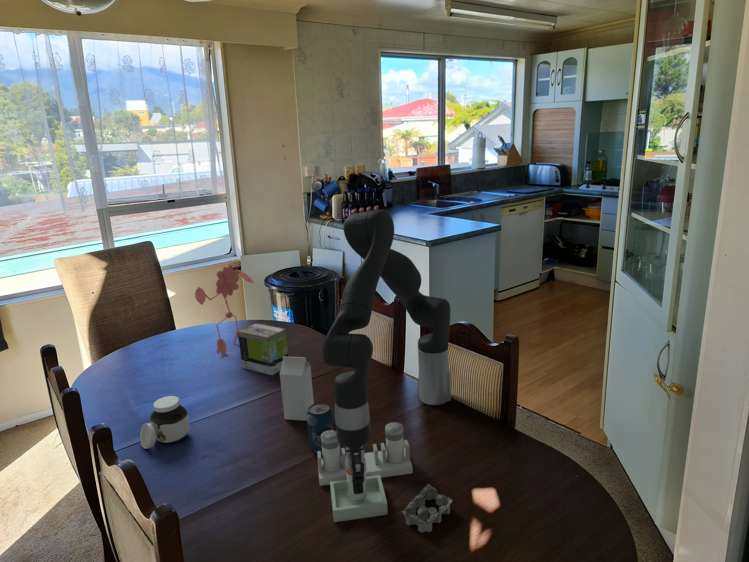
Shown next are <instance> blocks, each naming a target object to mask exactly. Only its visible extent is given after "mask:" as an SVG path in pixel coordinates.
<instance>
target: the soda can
mask: <svg viewBox="0 0 749 562" xmlns="http://www.w3.org/2000/svg"><path fill="white" fill-rule="evenodd" d="M306 423H307V424H306V425H307V433H308V445H309V447H310V449H311V450H312V451H313V453H316V454H317V451H321V455H322V446H321V434H322V433H323V432H325V431H328V430H334V431H335V425H334V415H333V410H332V409H331V407H330V405H329V404H328V403H325V402H317V403H314V404H313V405H311V406H310V407H309V409H308V413H307V421H306Z"/></svg>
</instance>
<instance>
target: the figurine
mask: <svg viewBox="0 0 749 562" xmlns="http://www.w3.org/2000/svg"><path fill="white" fill-rule="evenodd" d="M216 277H217V278H218V279H217V281H216V282H215V285H216V294H215V295H214V296H212V297H209V295H207V294H206V291H205V290H204V289H203V288H202V287H200V286H198V287H197V289H195V293H194V298H195V299H196V302H198V303H199V304H200V305H201V306H203V305H204V303H205V301H206V300H207V299H208V300H209V301H212V300H213V299H214V298H217V297H218V296H219V295H220V294H221V296H222V297H223V299H224V301H225V304H226V307H227V308H226V309H227V310H228V311H226V312H225V314H224V315H225V318H223V319H222V320H221V321H219V322H218V323H217V324H216V330H217V332H218V333H217V334H218V337H219V338H218V339H217V340H216V347H217V349H216V352H217V353H218V352H220V353H221V355H222V356H225V355H226V353H227V350H228V349H227V344H226V342H225V340H224V339H223V338H221V335H220V331H219V324H221V323H222V322H223V321H224V320H226V319H231V318H232V317H234V320H235V326H236V331H235V338H234V340H233V341H234V342H233V344H236V341H237V339H239V337H238V331H239V327H238V321H237V316H236V315H235V314H233V312H232V311H230V307H229V303H228V300H227V297H228V296H233V295H234V294H233V293H234V291H237V290H239V284H238V282H239V280H240V277H242V279H244V280H245V281H247V282H249V283H252V284H254V280H253V279H252V278H251V277H250V276H249V275H248V274H247V273H245V272H244V271H239V269H237V268H236V269H234V267H233V265H232V264H231V263H230V264H229V265H228V266H223V268H222V270H219V271H217V272H216ZM206 298H207V299H206ZM220 353H219V354H220ZM239 358H240V359H241V356H240V357H239Z"/></svg>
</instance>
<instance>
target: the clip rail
mask: <svg viewBox="0 0 749 562" xmlns="http://www.w3.org/2000/svg"><path fill="white" fill-rule="evenodd" d="M403 440H404V461H403V462H402V463H399V464H391V463H389V462H388V461H387V452H386V444H385V443H384V442H380V450H378V447H377V443H372V448H373V449H372V452H371V451H370V452H364V453H365V455H364V457H365V462H366V477H369V476H377V475H380V476H381V479H382V478H388V477H394V476H395V477H396V476H404V475H410V474H413V470H414V469H413V463H412V462H411V454H410V453H411V451H410V443H409V442H408V439H403ZM340 452H341V455H340V456H341V469H340V470H339V471H337V472H333V473H330V472H326V471H325V470H324V468H323V458H322V454H321V451H317V453H316V455H317V467H318V469H317V470H318V480H319V481H318V482H319V486H321V487H323V486H328V485H329V486H330V482H332V481H340V480H347V474H346V466H345V460H346V458H347V455H346V448H345V447H340Z"/></svg>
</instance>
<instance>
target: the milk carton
mask: <svg viewBox="0 0 749 562" xmlns="http://www.w3.org/2000/svg"><path fill="white" fill-rule="evenodd" d="M279 379H280V389H281V397H282V407H283V416H284V420H290V421H292V420H293V421H306V422H307V413H308V409H309V407H310V406H311V405H313V404H315V401H314V391H313V380H312V369H311V364H310V363H309V362H308V361H307V358H306V357H305V356H300V357H299V356H288V357H284V356H283V362H282V366H281V370H280V371H279Z"/></svg>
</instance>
